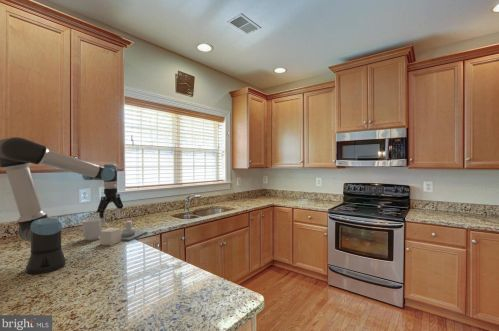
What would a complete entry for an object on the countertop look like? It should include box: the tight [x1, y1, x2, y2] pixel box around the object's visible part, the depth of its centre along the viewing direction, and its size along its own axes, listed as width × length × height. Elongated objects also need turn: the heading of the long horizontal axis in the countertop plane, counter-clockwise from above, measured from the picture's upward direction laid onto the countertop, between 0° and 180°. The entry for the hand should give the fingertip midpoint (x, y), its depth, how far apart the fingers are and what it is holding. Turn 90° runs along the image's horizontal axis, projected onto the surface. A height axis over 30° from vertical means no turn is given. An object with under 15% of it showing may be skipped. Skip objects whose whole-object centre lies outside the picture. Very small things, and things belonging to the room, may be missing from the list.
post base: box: [120, 220, 148, 242], centre depth 174 cm, size 20×16×10 cm
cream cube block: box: [99, 227, 122, 246], centre depth 160 cm, size 8×8×8 cm
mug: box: [82, 217, 109, 242], centre depth 168 cm, size 15×11×13 cm
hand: (110, 220), depth 160 cm, fingers open, 13 cm apart
